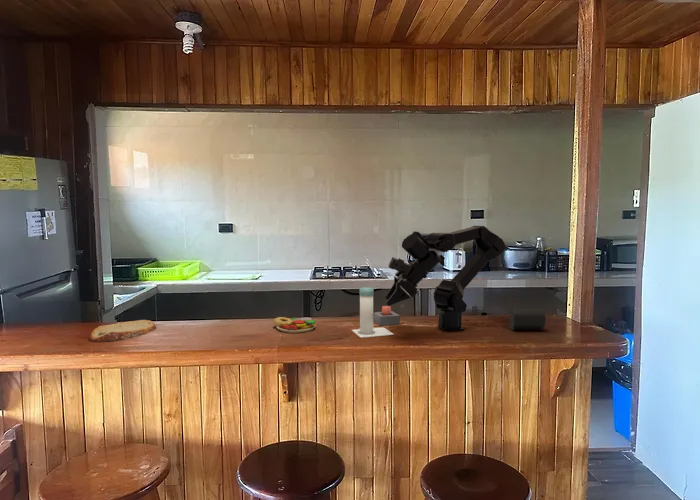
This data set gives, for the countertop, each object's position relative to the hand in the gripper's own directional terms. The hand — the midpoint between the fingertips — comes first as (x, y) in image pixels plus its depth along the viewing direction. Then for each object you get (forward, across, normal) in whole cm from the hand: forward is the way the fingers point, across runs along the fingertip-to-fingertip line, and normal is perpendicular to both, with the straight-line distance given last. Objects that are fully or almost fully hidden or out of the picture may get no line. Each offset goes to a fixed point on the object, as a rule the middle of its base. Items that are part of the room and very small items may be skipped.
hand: (386, 301), depth 156 cm
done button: (+6, -14, +6) cm, 16 cm away
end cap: (-24, -6, +40) cm, 47 cm away
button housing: (+7, -14, +7) cm, 17 cm away
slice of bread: (+66, +3, -52) cm, 84 cm away
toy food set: (+28, -5, -14) cm, 32 cm away
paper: (+10, 0, +4) cm, 11 cm away
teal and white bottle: (+11, 0, +2) cm, 12 cm away
